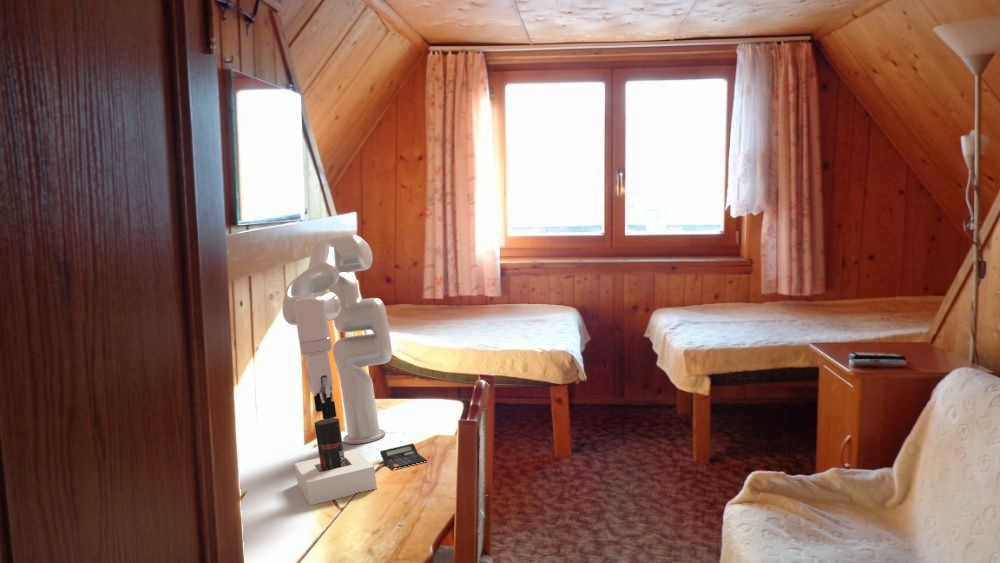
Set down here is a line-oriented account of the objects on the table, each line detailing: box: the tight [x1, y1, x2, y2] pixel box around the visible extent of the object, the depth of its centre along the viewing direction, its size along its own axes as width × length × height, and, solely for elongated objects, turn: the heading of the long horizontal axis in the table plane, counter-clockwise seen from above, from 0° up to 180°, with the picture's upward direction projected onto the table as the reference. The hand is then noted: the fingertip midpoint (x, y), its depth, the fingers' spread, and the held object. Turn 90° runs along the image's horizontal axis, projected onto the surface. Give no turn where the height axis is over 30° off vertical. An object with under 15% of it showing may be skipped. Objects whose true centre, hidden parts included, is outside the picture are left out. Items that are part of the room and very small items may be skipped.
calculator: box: [379, 443, 428, 470], centre depth 208 cm, size 9×12×3 cm
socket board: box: [293, 448, 378, 506], centre depth 193 cm, size 20×16×6 cm
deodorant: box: [314, 417, 346, 472], centre depth 193 cm, size 6×6×15 cm
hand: (326, 414), depth 193 cm, fingers open, 9 cm apart
